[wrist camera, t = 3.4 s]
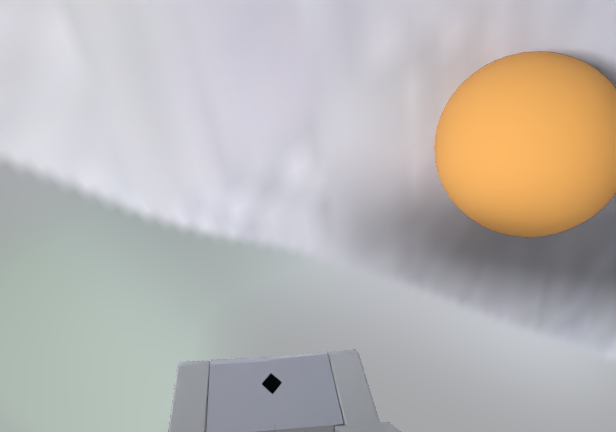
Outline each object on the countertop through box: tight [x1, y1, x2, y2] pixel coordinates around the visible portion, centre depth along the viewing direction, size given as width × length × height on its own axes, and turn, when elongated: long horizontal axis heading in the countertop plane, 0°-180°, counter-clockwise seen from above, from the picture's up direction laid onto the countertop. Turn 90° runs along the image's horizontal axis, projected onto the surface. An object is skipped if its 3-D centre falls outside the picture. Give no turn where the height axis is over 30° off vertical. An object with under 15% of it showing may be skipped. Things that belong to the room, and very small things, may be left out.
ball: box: [435, 52, 616, 237], centre depth 18 cm, size 6×6×6 cm
